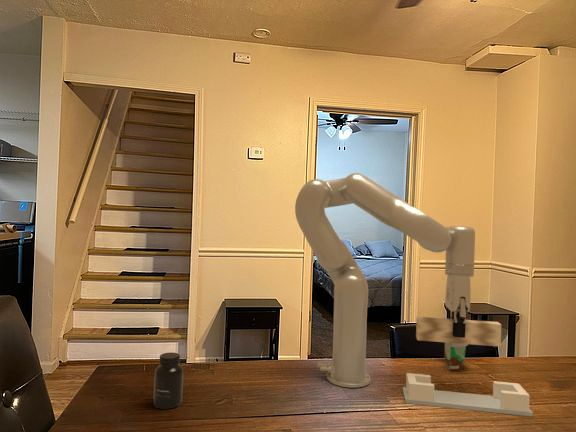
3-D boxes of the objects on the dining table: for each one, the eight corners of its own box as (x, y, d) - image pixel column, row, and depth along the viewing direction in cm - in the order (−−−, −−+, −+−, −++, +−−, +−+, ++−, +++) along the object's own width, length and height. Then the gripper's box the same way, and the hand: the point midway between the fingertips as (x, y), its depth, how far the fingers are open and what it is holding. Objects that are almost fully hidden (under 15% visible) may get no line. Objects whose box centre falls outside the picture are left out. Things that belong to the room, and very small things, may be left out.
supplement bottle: (156, 412, 99) (157, 361, 99) (151, 400, 105) (152, 352, 105) (185, 407, 102) (186, 357, 102) (178, 396, 108) (180, 349, 108)
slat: (417, 340, 119) (418, 319, 119) (416, 337, 122) (416, 316, 122) (500, 346, 115) (501, 324, 115) (497, 343, 118) (497, 322, 118)
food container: (471, 374, 129) (472, 342, 129) (450, 372, 130) (451, 340, 130) (463, 361, 141) (464, 331, 141) (443, 359, 142) (444, 330, 142)
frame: (405, 403, 107) (406, 383, 107) (402, 390, 115) (403, 372, 115) (533, 416, 102) (533, 396, 102) (521, 402, 110) (521, 383, 110)
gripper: (440, 266, 127) (438, 326, 127) (451, 273, 111) (449, 342, 111) (466, 267, 126) (464, 328, 126) (481, 274, 109) (479, 345, 109)
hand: (457, 334), depth 118 cm, fingers closed on slat, 3 cm apart
